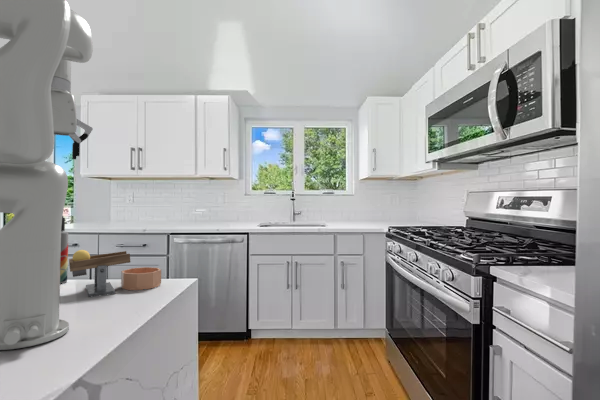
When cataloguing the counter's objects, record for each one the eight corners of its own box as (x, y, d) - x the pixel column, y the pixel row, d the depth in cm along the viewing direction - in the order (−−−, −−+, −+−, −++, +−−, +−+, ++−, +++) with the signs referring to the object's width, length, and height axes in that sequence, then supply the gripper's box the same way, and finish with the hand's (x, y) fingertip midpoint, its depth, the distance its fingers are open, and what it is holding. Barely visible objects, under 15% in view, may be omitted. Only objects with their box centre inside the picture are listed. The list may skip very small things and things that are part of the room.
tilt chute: (130, 268, 97) (129, 253, 97) (70, 277, 89) (69, 262, 89) (122, 260, 109) (121, 248, 109) (69, 268, 101) (68, 255, 101)
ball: (91, 264, 93) (89, 249, 93) (73, 267, 91) (71, 252, 90) (90, 262, 96) (88, 247, 96) (73, 265, 94) (71, 250, 94)
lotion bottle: (67, 283, 103) (68, 216, 104) (43, 286, 100) (45, 216, 100) (67, 280, 108) (68, 215, 108) (44, 282, 105) (45, 215, 105)
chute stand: (115, 293, 92) (115, 265, 93) (88, 297, 89) (89, 267, 89) (109, 285, 102) (110, 259, 102) (85, 287, 99) (86, 261, 99)
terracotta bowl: (164, 287, 100) (164, 271, 100) (124, 292, 94) (124, 275, 95) (156, 280, 109) (156, 266, 109) (118, 284, 103) (119, 269, 103)
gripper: (5, 75, 78) (3, 152, 78) (94, 91, 88) (93, 159, 88) (8, 84, 84) (6, 155, 84) (91, 97, 94) (90, 161, 94)
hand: (51, 157), depth 86 cm, fingers open, 9 cm apart
